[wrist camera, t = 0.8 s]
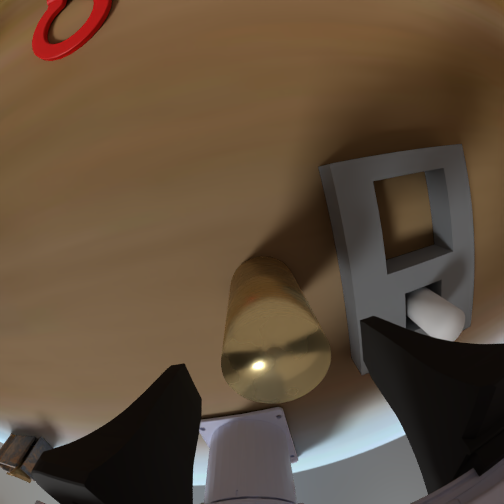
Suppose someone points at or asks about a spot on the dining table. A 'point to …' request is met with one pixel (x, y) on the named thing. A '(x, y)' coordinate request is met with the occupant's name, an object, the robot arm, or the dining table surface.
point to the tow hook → (67, 47)
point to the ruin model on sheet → (21, 455)
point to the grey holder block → (411, 264)
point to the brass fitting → (271, 335)
